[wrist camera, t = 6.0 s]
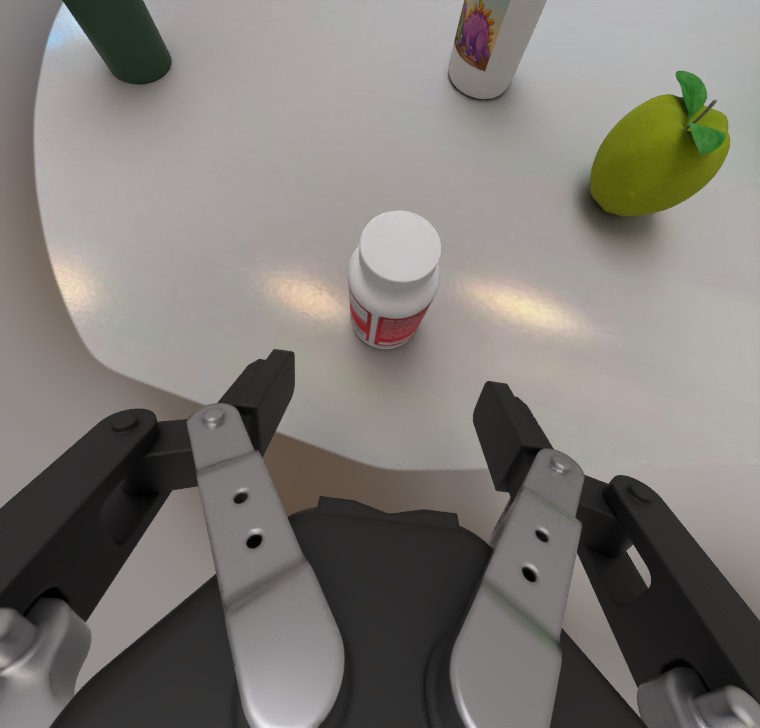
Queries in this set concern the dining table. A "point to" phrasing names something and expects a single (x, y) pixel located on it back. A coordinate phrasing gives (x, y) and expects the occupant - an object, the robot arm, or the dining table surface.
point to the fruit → (660, 152)
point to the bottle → (123, 37)
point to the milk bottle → (491, 44)
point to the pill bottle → (393, 278)
